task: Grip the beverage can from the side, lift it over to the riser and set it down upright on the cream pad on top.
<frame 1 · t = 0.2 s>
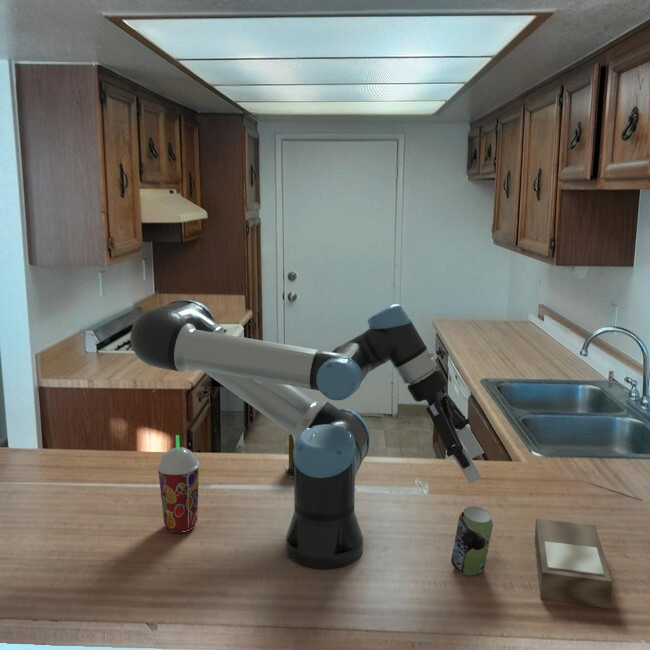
hand: (477, 467, 134), 15 cm above the worktop, tool tilted 35°, fingers open, 13 cm apart
beverage can: (470, 571, 123), on the worktop
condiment: (300, 472, 168), on the worktop
riser: (568, 572, 123), on the worktop
smoothie: (181, 527, 140), on the worktop
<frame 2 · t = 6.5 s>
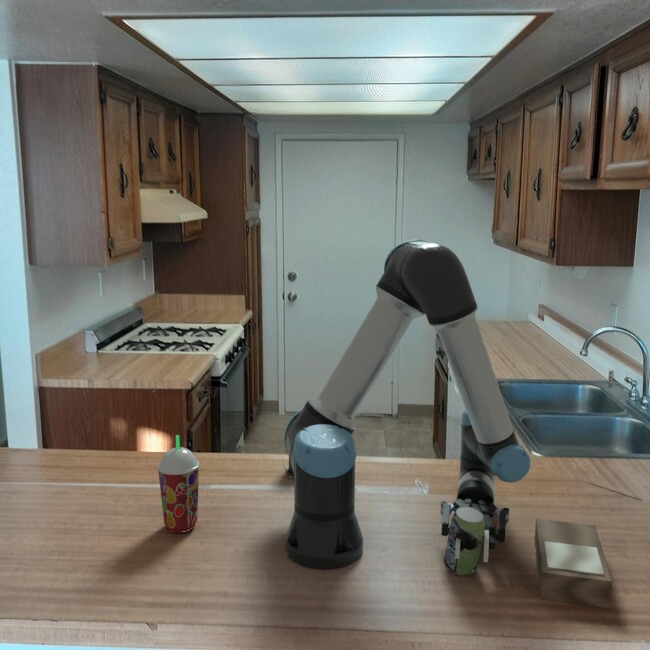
hand: (471, 553, 117), 7 cm above the worktop, tool horizontal, fingers closed on beverage can, 4 cm apart
beverage can: (463, 571, 123), on the worktop, touching gripper
everything else where it was.
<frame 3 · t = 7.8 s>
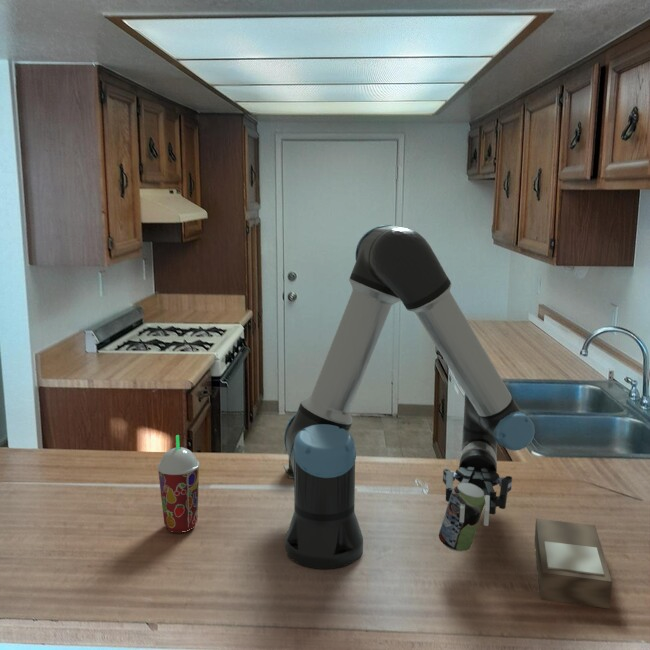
hand: (474, 516, 116), 13 cm above the worktop, tool horizontal, fingers closed on beverage can, 3 cm apart
beverage can: (457, 548, 122), point 5 cm above the worktop, touching gripper
everything else where it was.
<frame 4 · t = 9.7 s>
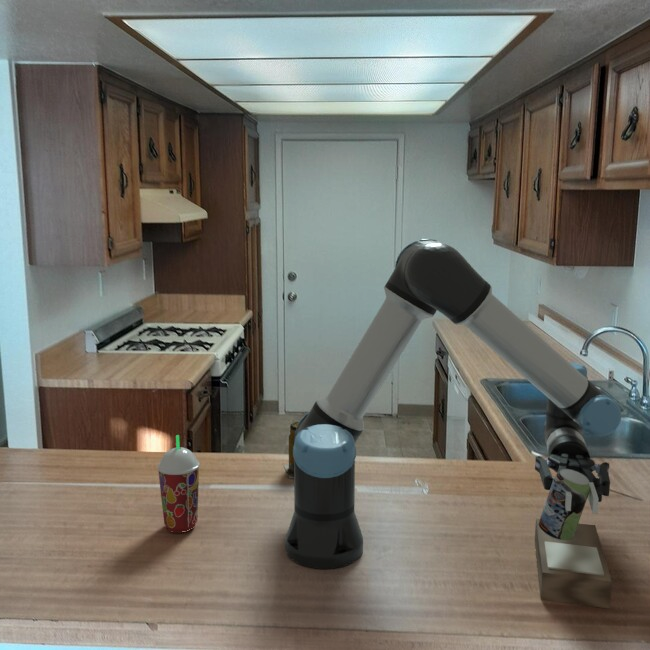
hand: (582, 504, 111), 18 cm above the worktop, tool horizontal, fingers closed on beverage can, 3 cm apart
beverage can: (559, 537, 117), point 9 cm above the worktop, touching gripper
everything else where it was.
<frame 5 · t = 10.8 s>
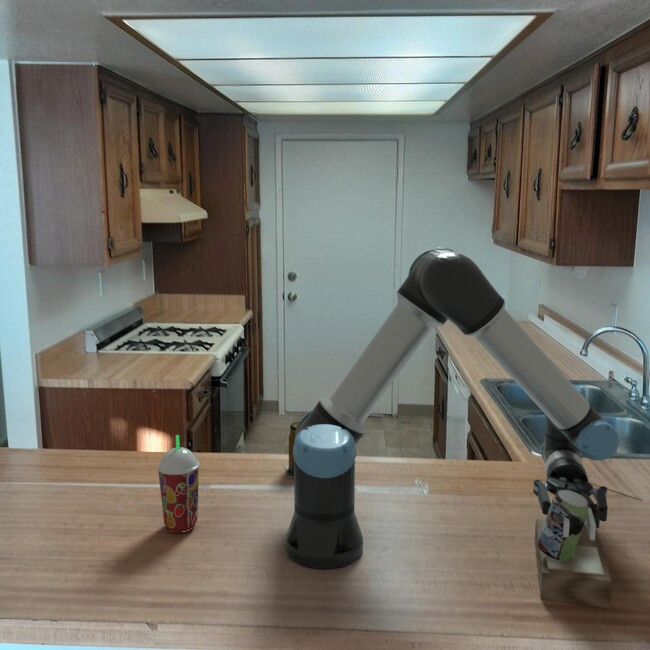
hand: (579, 531, 112), 13 cm above the worktop, tool horizontal, fingers closed on beverage can, 3 cm apart
beverage can: (558, 557, 118), point 5 cm above the worktop, touching gripper, riser
everything else where it was.
when the fingers open (13 cm above the worktop, at t = 11.0 s): beverage can stays where it is, resting on riser.
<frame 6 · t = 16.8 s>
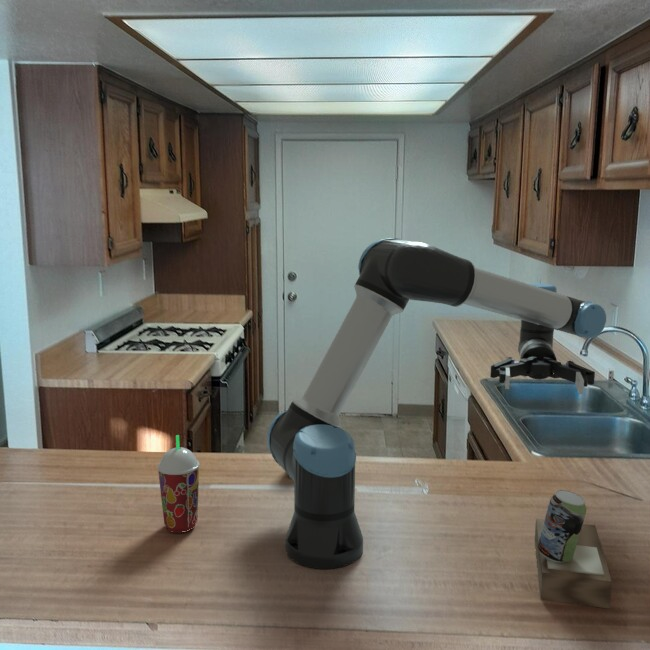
hand: (544, 384, 129), 32 cm above the worktop, tool horizontal, fingers open, 13 cm apart
beverage can: (558, 558, 118), point 5 cm above the worktop, touching riser
everything else where it was.
at the end: beverage can inside the target area on the riser (2.6 cm from its centre), point 5.1 cm above the riser's base; beverage can tilted 1°; the gripper is holding nothing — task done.
